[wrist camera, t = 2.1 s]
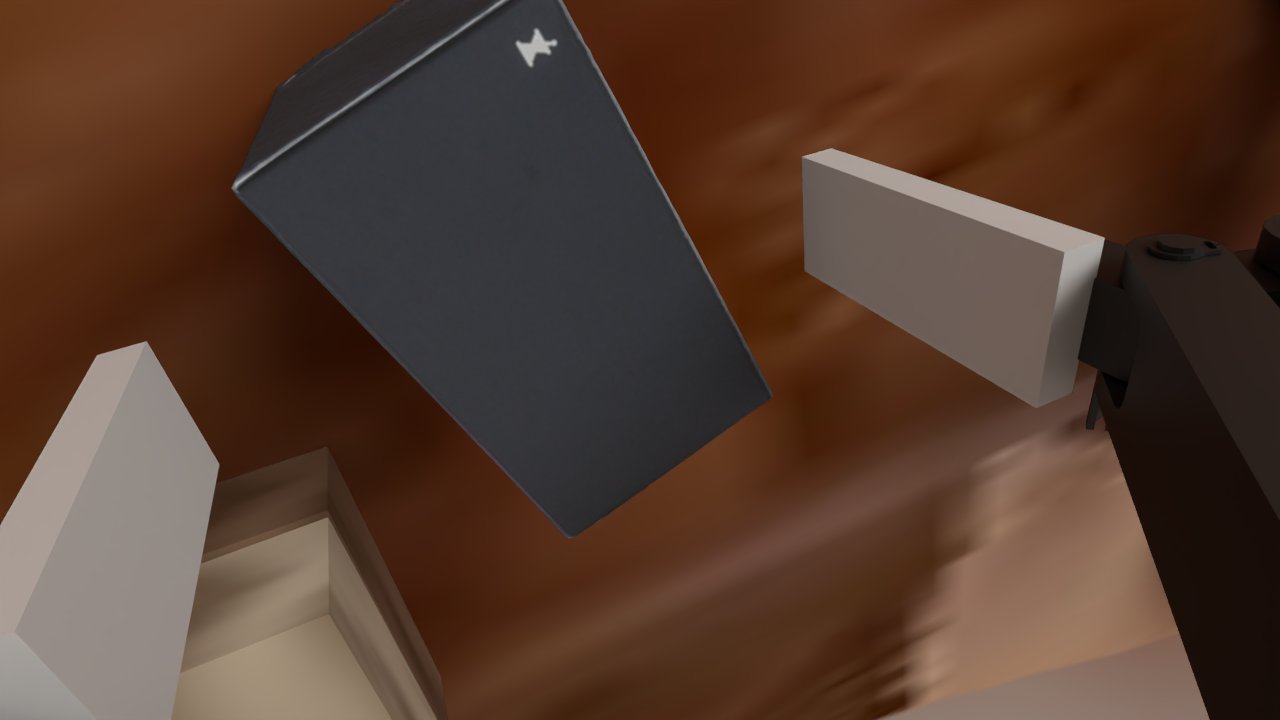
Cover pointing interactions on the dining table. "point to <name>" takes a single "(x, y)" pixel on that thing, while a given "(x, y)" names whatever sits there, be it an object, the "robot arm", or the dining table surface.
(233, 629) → the tower top block
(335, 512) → the tower base block
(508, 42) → the small box
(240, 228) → the dining table surface
